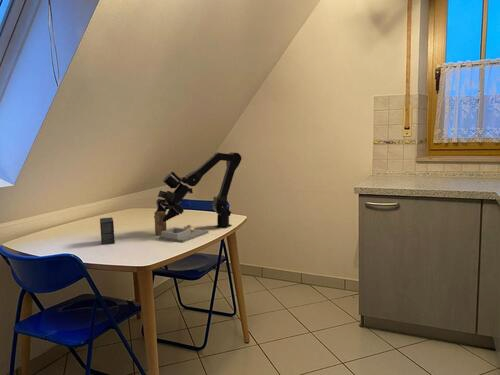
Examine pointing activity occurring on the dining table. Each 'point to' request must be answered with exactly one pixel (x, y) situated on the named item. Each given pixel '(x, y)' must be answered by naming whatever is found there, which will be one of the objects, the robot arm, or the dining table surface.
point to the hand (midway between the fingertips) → (158, 219)
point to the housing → (182, 234)
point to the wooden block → (159, 222)
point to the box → (107, 230)
